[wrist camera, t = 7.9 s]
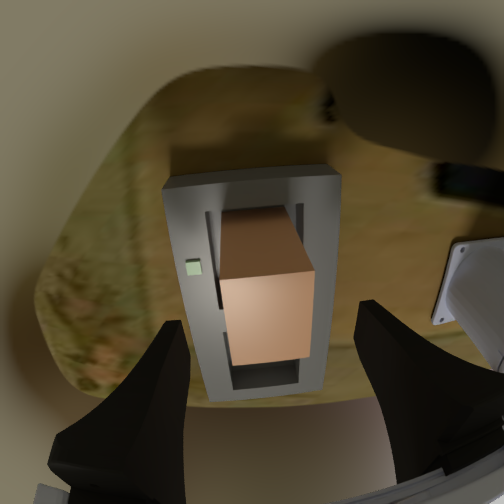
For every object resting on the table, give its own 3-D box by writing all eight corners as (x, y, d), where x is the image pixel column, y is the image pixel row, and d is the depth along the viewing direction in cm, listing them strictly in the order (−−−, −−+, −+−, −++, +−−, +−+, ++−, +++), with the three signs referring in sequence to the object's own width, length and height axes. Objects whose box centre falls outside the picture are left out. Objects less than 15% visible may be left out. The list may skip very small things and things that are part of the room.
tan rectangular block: (284, 206, 18) (314, 270, 12) (285, 277, 20) (309, 357, 14) (221, 212, 18) (219, 280, 12) (229, 282, 20) (232, 365, 14)
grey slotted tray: (327, 163, 18) (342, 175, 15) (315, 367, 26) (322, 391, 23) (169, 176, 17) (160, 190, 15) (210, 378, 25) (209, 403, 23)
